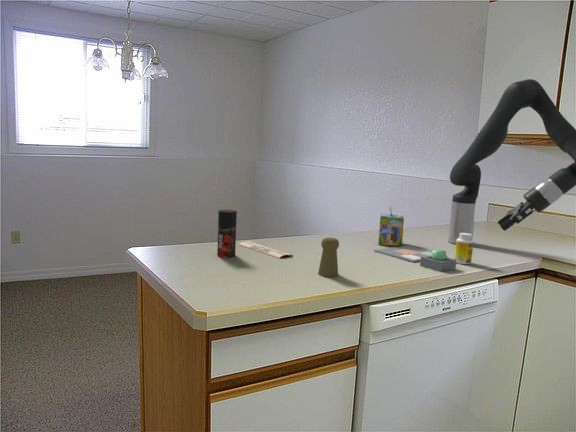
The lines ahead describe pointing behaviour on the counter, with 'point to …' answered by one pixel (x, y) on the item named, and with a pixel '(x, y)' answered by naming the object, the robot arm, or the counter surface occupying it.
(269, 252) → the newspaper
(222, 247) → the deodorant
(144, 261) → the counter surface
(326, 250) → the cork
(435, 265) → the button housing
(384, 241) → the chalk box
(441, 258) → the button
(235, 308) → the counter surface
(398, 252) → the sheet board
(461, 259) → the supplement bottle
